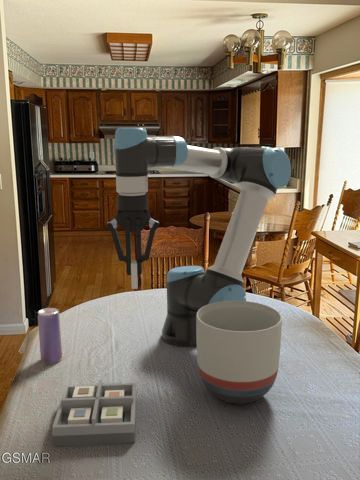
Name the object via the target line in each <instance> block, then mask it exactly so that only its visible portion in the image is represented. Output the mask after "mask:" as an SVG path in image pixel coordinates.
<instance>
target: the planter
mask: <svg viewBox="0 0 360 480" xmlns="http://www.w3.org/2000/svg"><path fill="white" fill-rule="evenodd" d="M282 323H283V317H282V314H281V313H280V312H279V310H278V309H276V308H273V307H271V306H269V305H266V304H263V303H259V302H254V301H247V300H246V301H221V302H215V303H211V304H208V305H205V306H203V307H202V308H200V309H199V310H198V312H197V315H196V340H197V346H196V359H197V360H196V362H197V370H198V373H199V377H200V380H201V382H202V385H204V387H205V388H206V389H207V391H208V392H209V393H211V394H212V395H213V396H214V397H216V398H217V399H219V400H221V401H224V402H226V403H229V404H235V405H236V404H237V405H242V404H249V403H252V402H256V401H257V400H259V399H261V398H262V397H264V396H265V395H266V394H267V393H268V392H270V390H271V389H272V388H273V386H274V383H275V382H276V378H277V375H278V372H279V366H280V356H281V355H280V354H281V344H282V343H281V341H282V330H283V329H282V325H283V324H282Z"/></svg>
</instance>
